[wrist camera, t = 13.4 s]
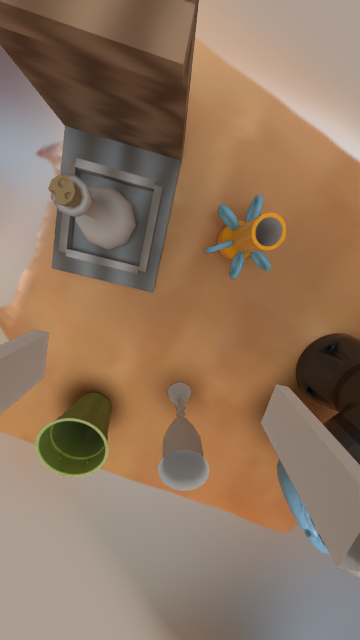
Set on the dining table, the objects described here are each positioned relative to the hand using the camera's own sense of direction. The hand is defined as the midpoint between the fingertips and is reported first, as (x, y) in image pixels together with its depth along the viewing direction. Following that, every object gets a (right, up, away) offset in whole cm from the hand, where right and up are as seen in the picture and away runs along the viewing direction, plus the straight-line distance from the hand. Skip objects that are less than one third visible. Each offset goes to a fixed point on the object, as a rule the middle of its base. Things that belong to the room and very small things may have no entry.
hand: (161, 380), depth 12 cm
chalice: (+1, -12, +35) cm, 37 cm away
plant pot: (-17, -15, +35) cm, 42 cm away
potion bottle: (-10, +20, +24) cm, 33 cm away
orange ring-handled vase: (+11, +17, +27) cm, 34 cm away
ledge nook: (-10, +22, +25) cm, 34 cm away
